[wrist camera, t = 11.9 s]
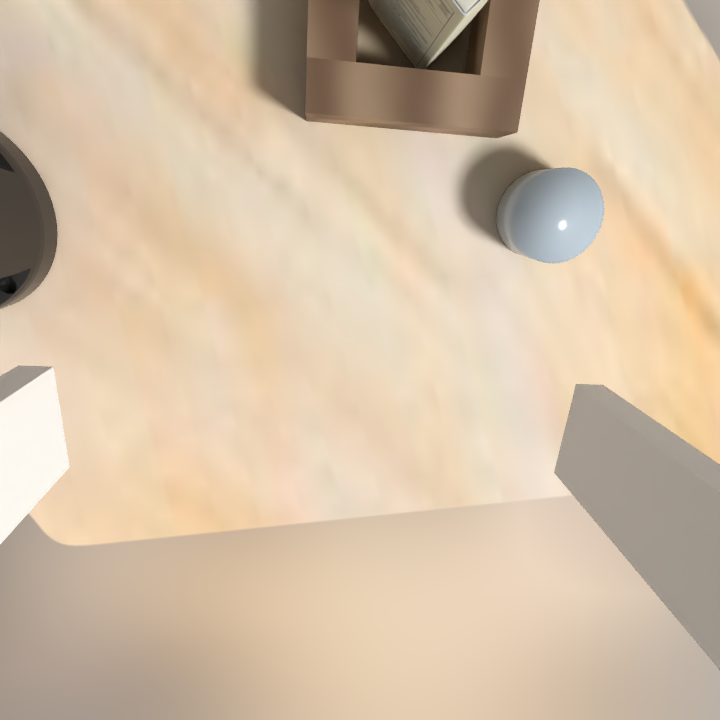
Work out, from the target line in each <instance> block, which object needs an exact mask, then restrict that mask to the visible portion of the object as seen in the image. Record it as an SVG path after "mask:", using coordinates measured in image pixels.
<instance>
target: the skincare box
mask: <svg viewBox="0 0 720 720" xmlns="http://www.w3.org/2000/svg"><path fill="white" fill-rule="evenodd" d="M487 1H488V0H368V3H369V5H370V6H371V8H372V9H373V10H374V12H375V13H376V15H377V16H378V18H379V19H380V20H381V22H382V23H383V25H384V26H385V27H386V29H387V30H388V31H389V33H390V34H391V36H392V37H393V38H394V40H395V41H396V42H397V44H398V45H399V46H400V48H401V49H402V51H403V52H404V53H405V55H406V56H407V57H408V59H409V60H410V61H411V62H412V64H413V65H414V66H415V67H416V69H426V68H427V67H428V66H429V65H430V64H431V63H432V62H433V61H434V60H435V59H436V58H437V57H438V56H439V55H440V54H441V53H442V52H443V51H444V50H445V49H446V48H447V47H448V46H449V45H450V44H451V43H452V42H453V41H454V40H455V39H456V38H457V37H458V36H459V35H460V33H461V32H462V31H463V30H464V29H465V28H466V26H467V25H468V24H469V23H470V22H471V20H472V19H473V18H474V17H475V16H476V14H477V13H478V12H479V11H480V10H481V9H482V7H483V6H484V5H485V4H486V2H487Z"/></svg>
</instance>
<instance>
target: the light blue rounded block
mask: <svg viewBox="0 0 720 720" xmlns="http://www.w3.org/2000/svg"><path fill="white" fill-rule="evenodd" d="M603 215H604V201H603V196H602V193H601V190H600V188H599V186H598V185H597V183H596V182H595V180H594V179H593V178H592V177H591V176H589V175H588V174H587V173H585V172H583V171H581V170H578V169H574V168H555V169H544V170H536V171H532V172H528V173H526V174H524V175H522V176H520V177H519V178H517V179H516V180H515V181H514V182H513V183H512V184H511V185H510V186H509V187H508V188H507V189H506V191H505V192H504V194H503V196H502V198H501V200H500V203H499V205H498V210H497V217H496V222H497V229H498V233H499V235H500V238H501V239H502V241H503V243H504V244H505V245H506V246H507V247H508V248H509V249H510V250H511V251H513V252H514V253H516V254H519V255H522V256H525V257H528V258H531V259H534V260H537V261H541V262H544V263H561V262H565V261H568V260H570V259H573V258H574V257H576V256H578V255H579V254H581V253H582V252H583V251H584V250H585V249H586V248H587V247H588V246H589V245H590V244H591V243H592V242H593V240H594V239H595V237H596V235H597V234H598V232H599V229H600V227H601V224H602V220H603Z"/></svg>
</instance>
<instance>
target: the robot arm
mask: <svg viewBox="0 0 720 720" xmlns="http://www.w3.org/2000/svg"><path fill="white" fill-rule="evenodd" d="M56 246H57V223H56V217H55V212H54V208H53V204H52V201H51V198H50V196H49V193H48V191H47V189H46V187H45V185H44V182H43V181H42V179H41V177H40V175H39V174H38V172H37V171H36V169H35V168H34V166H33V165H32V163H31V162H30V161H29V159H28V158H27V157H26V156H25V155H24V153H23V152H22V151H21V150H20V149H19V148H18V147H17V146H16V145H15V144H14V143H13V142H12V141H11V140H10V139H9V138H7V137H6V136H5V135H4V134H3V133H1V132H0V309H1V308H4V307H7V306H9V305H12V304H14V303H16V302H19V301H20V300H22V299H24V298H25V297H27V296H28V295H29V294H31V293H32V292H33V291H34V290H35V289H36V288H37V287H38V286H39V285H40V284H41V283H42V281H43V280H44V278H45V277H46V275H47V274H48V272H49V270H50V268H51V265H52V263H53V260H54V257H55V252H56ZM69 467H70V466H69V460H68V454H67V448H66V442H65V436H64V430H63V424H62V418H61V411H60V405H59V399H58V393H57V387H56V381H55V375H54V369H53V367H44V366H17V367H15V368H14V369H12V370H10V371H9V372H7V373H5V374H3V375H2V376H0V544H1V543H2V541H3V540H5V538H6V537H7V536H8V535H9V534H10V533H11V532H12V530H14V528H15V527H16V526H17V525H18V524H19V523H20V522H21V521H22V519H23V518H24V517H25V516H26V515H27V514H28V513H29V512H30V511H31V509H32V508H33V507H34V506H35V505H36V504H37V503H38V502H39V500H40V499H41V498H42V497H43V496H44V495H45V494H46V493H47V492H48V490H49V489H50V488H51V487H52V486H53V485H54V484H55V483H56V481H57V480H58V479H59V478H60V477H61V476H62V475H63V474H64V473H65V471H66V470H67V469H68V468H69ZM554 473H555V474H556V475H557V477H558V478H559V479H560V480H561V481H562V482H563V484H564V485H565V486H566V487H567V488H568V490H569V491H570V492H571V493H572V494H573V496H574V497H575V498H576V499H577V500H578V501H579V502H580V504H581V505H582V506H583V508H584V509H585V510H586V511H587V512H588V513H589V515H590V516H591V517H592V518H593V519H594V521H595V522H596V523H597V524H598V525H599V527H600V528H601V529H602V530H603V531H604V533H605V534H606V535H607V536H608V537H609V539H610V540H611V541H612V542H613V543H614V544H615V546H616V547H617V548H618V549H619V550H620V552H621V553H622V554H623V555H624V556H625V558H626V559H627V560H628V561H629V562H630V563H631V565H632V566H633V567H634V568H635V570H636V571H637V572H638V573H639V574H640V575H641V577H642V578H643V579H644V580H645V581H646V582H647V584H648V585H649V586H650V587H651V588H652V590H653V591H654V592H655V593H656V594H657V596H658V597H659V598H660V599H661V601H662V602H663V603H664V604H665V605H666V606H667V608H668V609H669V610H670V611H671V612H672V614H673V615H674V616H675V617H676V618H677V619H678V621H679V622H680V623H681V624H682V625H683V627H684V628H685V629H686V630H687V632H688V633H689V634H690V635H691V636H692V637H693V639H694V640H695V641H696V642H697V643H698V644H699V646H700V647H701V648H702V649H703V651H704V652H705V653H706V654H707V655H708V656H709V658H710V659H711V660H712V661H713V663H714V664H715V665H716V666H717V667H718V668H719V670H720V464H718V463H717V462H715V461H714V460H712V459H711V458H709V457H708V456H706V455H705V454H704V453H702V452H701V451H699V450H698V449H696V448H695V447H693V446H692V445H690V444H689V443H687V442H686V441H684V440H683V439H682V438H680V437H679V436H677V435H676V434H674V433H673V432H671V431H670V430H668V429H667V428H665V427H664V426H662V425H661V424H660V423H658V422H657V421H655V420H654V419H652V418H651V417H649V416H648V415H646V414H645V413H643V412H642V411H640V410H639V409H638V408H636V407H635V406H633V405H632V404H630V403H629V402H627V401H626V400H624V399H623V398H621V397H620V396H618V395H617V394H616V393H614V392H613V391H611V390H610V389H608V388H607V387H605V386H604V385H588V384H576V386H575V391H574V395H573V399H572V403H571V407H570V411H569V415H568V419H567V423H566V427H565V431H564V435H563V439H562V443H561V447H560V451H559V455H558V459H557V463H556V467H555V471H554Z"/></svg>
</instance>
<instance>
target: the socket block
mask: <svg viewBox="0 0 720 720" xmlns="http://www.w3.org/2000/svg"><path fill="white" fill-rule="evenodd" d="M359 3H360V0H308V22H307V59H306V96H305V115H306V121H313V122H324V123H335V124H346V125H357V126H368V127H379V128H390V129H401V130H412V131H423V132H434V133H445V134H456V135H467V136H478V137H489V138H499V137H503V136H506V135H510V134H513V133H517V131H518V125H519V119H520V113H521V107H522V101H523V96H524V90H525V84H526V78H527V72H528V66H529V60H530V54H531V48H532V42H533V36H534V30H535V24H536V18H537V12H538V6H539V0H488V1H487V2H486V4H485V5H484V6H483V7H482V9H481V10H480V11H479V12H478V13H477V14H476V16H475V17H474V18H473V19H472V22H471V29H470V37H469V45H468V53H467V61H466V68H465V74H464V73H454V72H445V71H435V70H426V69H416V68H407V67H397V66H388V65H378V64H369V63H359V62H356V54H357V37H358V20H359Z"/></svg>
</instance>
